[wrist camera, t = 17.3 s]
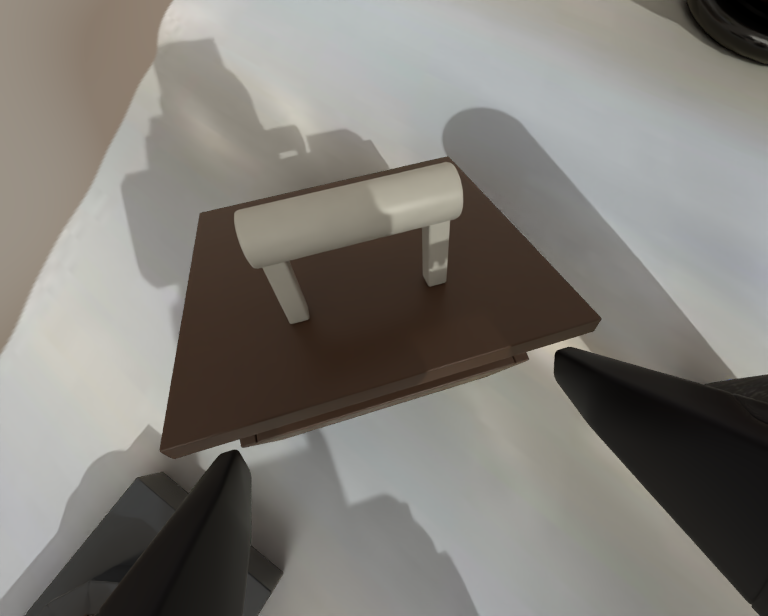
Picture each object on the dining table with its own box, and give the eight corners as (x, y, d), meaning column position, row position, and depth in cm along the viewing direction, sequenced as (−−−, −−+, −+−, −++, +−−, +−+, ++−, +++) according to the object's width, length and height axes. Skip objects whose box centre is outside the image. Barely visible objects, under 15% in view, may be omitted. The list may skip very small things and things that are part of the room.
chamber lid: (594, 331, 11) (679, 196, 7) (172, 460, 9) (11, 372, 6) (447, 168, 19) (452, 63, 15) (206, 224, 17) (147, 123, 14)
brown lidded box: (487, 376, 22) (530, 359, 16) (281, 440, 20) (240, 448, 14) (430, 227, 25) (446, 167, 19) (249, 273, 24) (206, 222, 18)
